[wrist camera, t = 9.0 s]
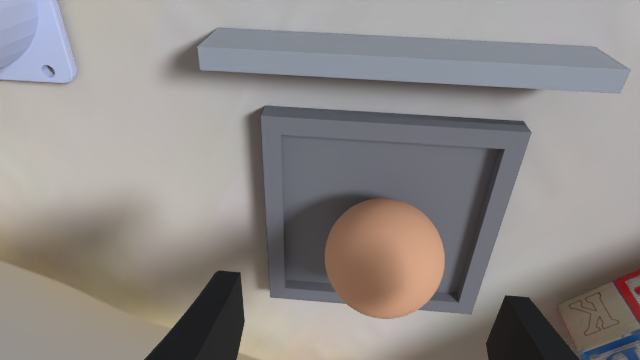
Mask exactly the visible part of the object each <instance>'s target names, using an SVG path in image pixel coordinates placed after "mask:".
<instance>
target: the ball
mask: <svg viewBox="0 0 640 360" xmlns="http://www.w3.org/2000/svg"><path fill="white" fill-rule="evenodd" d="M325 266H326V271H327V275H328V278H329V280H330V283H331V285H332V287H333V288H334V290H335V291H336V293H337V294H338V296H339V297H340V298H341V299H342V300H343V301H344V302H345V303H346V304H347V305H348V306H350V307H351V308H353V309H354V310H356V311H358V312H360V313H362V314H364V315H367V316H371V317H375V318H382V319H391V318H398V317H402V316H405V315H408V314H410V313H412V312H415V311H416V310H418V309H419V308H421V307H422V306H423V305H424V304H426V303H427V302H428V301H429V300H430V299H431V297H432V296H433V295H434V293H435V292H436V290H437V288H438V287H439V284H440V282H441V279H442V277H443V272H444V266H445V254H444V248H443V243H442V240H441V238H440V235H439V233H438V231H437V229H436V228H435V226H434V225H433V223H432V222H431V221H430V219H429V218H428V217H427V216H426V215H425V214H424V213H423V212H421V211H420V210H419V209H417V208H416V207H414V206H412V205H410V204H408V203H406V202H403V201H400V200H396V199H391V198H375V199H370V200H366V201H363V202H361V203H359V204H356V205H354V206H353V207H351V208H350V209H348V210H347V211H346V212H345V213H344V214H343V215H342V216H341V217H340V218H339V219H338V220H337V221H336V223H335V224H334V226H333V227H332V229H331V231H330V233H329V236H328V239H327V242H326V248H325Z"/></svg>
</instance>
